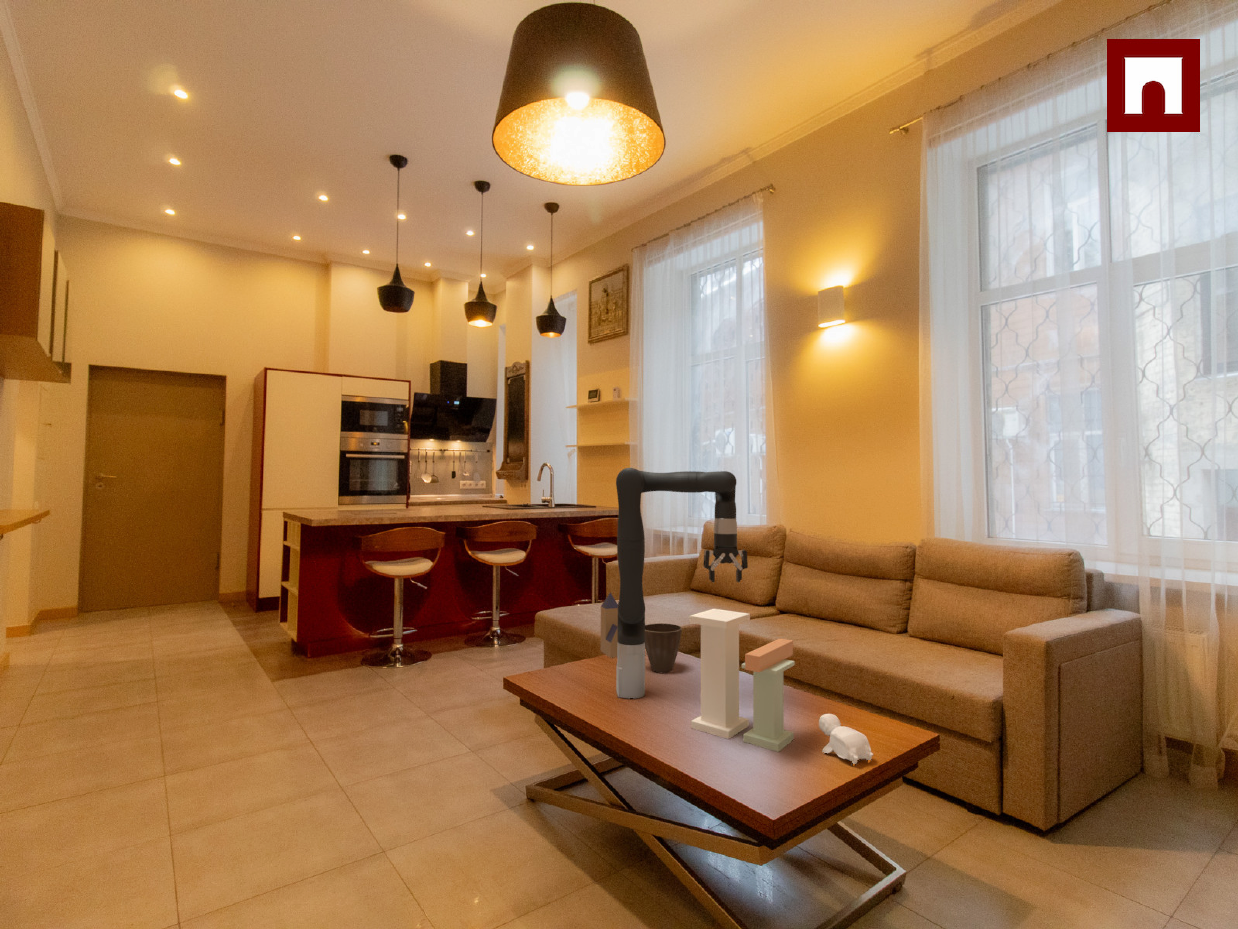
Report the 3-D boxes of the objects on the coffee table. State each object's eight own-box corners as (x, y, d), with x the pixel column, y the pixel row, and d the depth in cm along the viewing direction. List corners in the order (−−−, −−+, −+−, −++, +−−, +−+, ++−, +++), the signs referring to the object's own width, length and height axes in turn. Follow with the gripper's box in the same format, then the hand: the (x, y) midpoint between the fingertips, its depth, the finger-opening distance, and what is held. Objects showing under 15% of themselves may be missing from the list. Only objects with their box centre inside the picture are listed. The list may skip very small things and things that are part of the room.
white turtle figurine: (870, 772, 154) (830, 730, 167) (880, 745, 152) (838, 704, 165) (845, 778, 151) (806, 735, 164) (854, 751, 148) (814, 709, 161)
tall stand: (714, 715, 184) (713, 608, 185) (750, 725, 177) (749, 613, 178) (689, 729, 173) (689, 615, 175) (726, 740, 166) (726, 621, 167)
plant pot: (641, 676, 223) (642, 631, 223) (641, 664, 238) (642, 622, 238) (682, 676, 222) (682, 632, 223) (680, 665, 237) (680, 623, 238)
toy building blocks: (600, 650, 257) (600, 591, 258) (641, 647, 264) (641, 589, 265) (610, 658, 246) (610, 596, 247) (653, 654, 252) (653, 593, 253)
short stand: (761, 729, 173) (761, 655, 174) (795, 738, 167) (794, 661, 168) (741, 743, 164) (741, 664, 165) (776, 753, 158) (776, 671, 159)
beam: (779, 652, 177) (779, 638, 177) (793, 654, 175) (792, 640, 175) (745, 669, 160) (745, 654, 160) (759, 672, 157) (759, 656, 158)
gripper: (707, 533, 195) (707, 583, 195) (750, 532, 197) (750, 583, 196) (701, 531, 203) (701, 580, 202) (743, 531, 204) (743, 580, 204)
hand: (725, 581), depth 199 cm, fingers open, 8 cm apart
